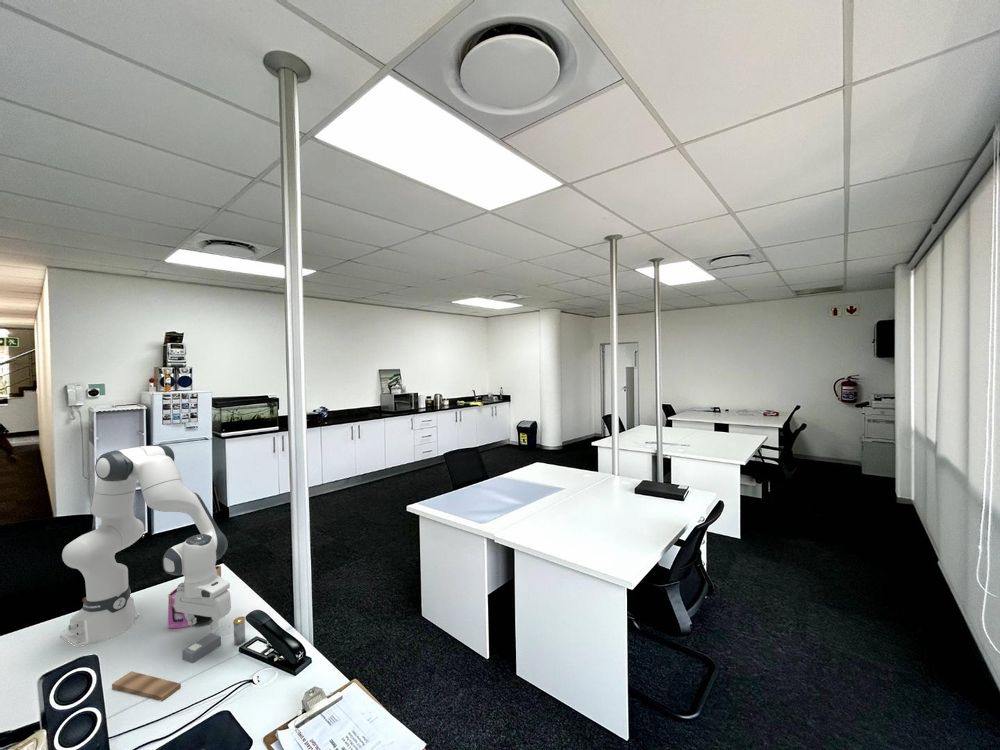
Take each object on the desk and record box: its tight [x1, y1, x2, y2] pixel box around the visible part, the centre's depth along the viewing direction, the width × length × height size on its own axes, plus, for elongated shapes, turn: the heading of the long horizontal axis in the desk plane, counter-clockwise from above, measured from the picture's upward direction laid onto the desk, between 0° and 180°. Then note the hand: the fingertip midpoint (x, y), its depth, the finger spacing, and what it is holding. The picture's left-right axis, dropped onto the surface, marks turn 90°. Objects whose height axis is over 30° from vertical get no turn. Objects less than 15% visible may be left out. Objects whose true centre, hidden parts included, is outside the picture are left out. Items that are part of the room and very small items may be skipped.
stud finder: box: [181, 632, 222, 664], centre depth 132 cm, size 5×9×4 cm, turn 159°
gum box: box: [167, 565, 222, 629], centre depth 156 cm, size 22×7×13 cm, turn 7°
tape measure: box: [194, 615, 212, 624], centre depth 150 cm, size 7×7×4 cm
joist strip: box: [111, 670, 182, 702], centre depth 117 cm, size 20×5×2 cm, turn 75°
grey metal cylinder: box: [232, 616, 246, 646], centre depth 137 cm, size 3×3×9 cm
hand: (203, 626), depth 132 cm, fingers open, 8 cm apart
